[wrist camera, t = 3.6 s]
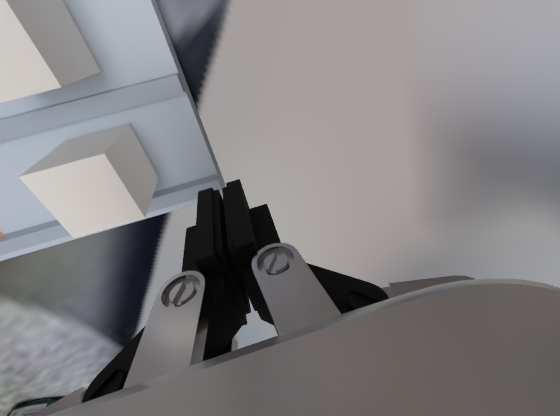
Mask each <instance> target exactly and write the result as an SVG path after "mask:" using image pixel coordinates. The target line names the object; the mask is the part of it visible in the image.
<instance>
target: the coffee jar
mask: <svg viewBox="0 0 560 416" xmlns="http://www.w3.org/2000/svg"><path fill="white" fill-rule="evenodd" d="M56 401H58V400H56V399H42V400H36V401H32V402H30V403H27V404H24V405H22V406H19V407H17V408H15V409H13V410H12V411H10V412H9V414H8V415H7V416H31V415H33V414H35V413H36V412H38V411H40V410H42V409H44V408H45V407H47V406H49V405H51V404H53V403H54V402H56Z"/></svg>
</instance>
